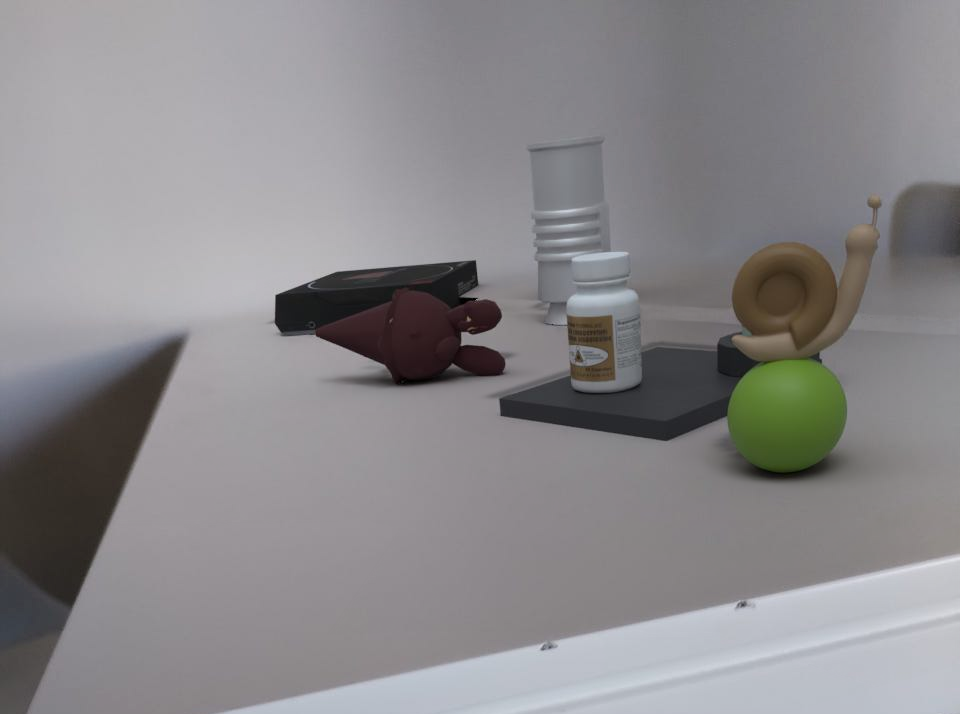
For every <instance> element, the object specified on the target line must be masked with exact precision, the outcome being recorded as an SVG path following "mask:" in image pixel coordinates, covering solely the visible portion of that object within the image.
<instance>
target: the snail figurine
mask: <svg viewBox="0 0 960 714" xmlns="http://www.w3.org/2000/svg"><path fill="white" fill-rule="evenodd" d="M866 202H867V206H868V207H869V208H871V209H872V220H871V224H870V223H867V222H866V223H860V224H857V225H855V226H853V227H852V228H851V229H850V230H849V231H848V233H847V235H846V237H845V240H844V246H845V251H846V260H845V263H844V267H843V270H842V273H841V274H842V275H841V277H840V280H839V283H838V282H837V280H836V279H837V278H836V276H835V272H834V270H833V268H832V266H831V264H830V262H829V261H828V260H827V259H826V258H825V256H824V255H823V254H822V253H820V252H819V251H818V250H816V249H815V248H813V247H811V246H809V245H806V244H805V243H800V242H795V241H782V242H777V243H774V244H773V243H772V244H770V245H768V246H765V247H762V248H761V249H760V250H758V251H757V252H755V253H753V254H752V255H751V256H750V257H749V258H748V259H747V260H746V261H745V262H744V263H743V265H742V266H741V267H740V269H739V271H738V272H737V275H736V277H735V280H734V282H733V286H732V290H731V291H732V292H731V304H732V309H733V312H734V315H735V318H736V319H737V320H738V322H739V323H740V324H741V326H742V325H743V326H744V327H745V328H746V329H747V330H748V331H749V332H750V333H751V334H752V335H751V336H748V335H736V336H733V337H732V342H733V344H734V345H735V346H736V347H737V348H738V349H739V350H740V351H741V352H743V353H744V354H745V355H746V356H748V357H749V358H751V359H753V360H756V361H760V362H761V363H759V364H758V365H756V366H755V367H753V368H752V369H751V370H750V371H748V372H747V373H746V374H745V375H744V376H743V377H742V379H741V380H740V381H739V383H738V384H737V386H736V387H735V389H734V391H733V393H732V396H731V398H730V402H729V406H728V413H727V416H726V417H727V418H726V419H727V428H728V433H729V436H730V438H731V441H732V443H733V445H734V446H735V448H736V449H737V451H738V452H739V454H740V455H741V456H742V457H743V458H745V460H746V461H748V462H750V463H751V464H752V465H754V466H755V467H757V468H760V469H762V470H765V471H769V472H774V473H780V474H781V473H783V474H784V473H785V474H786V473H794V472H799V471H802V470H805V469H808V468H810V467H812V466H814V465H816V464H817V463H819V462H821V461H822V460H824V458H826V457H827V456H828V455H829V454H830V453H831V452H832V451H833V450H834V449H835V447H836V445H837V444H838V443H839V442H840V439H841V438H842V435H843V433H844V431H845V427H846V424H847V418H848V403H847V397H846V393H845V391H844V388H843V386H842V383H841V382H840V381H839V379H838V378H837V376H836V375H835V374H834V373H833V371H831V370H830V368H828V367H827V366H826V365H825V364H823V363H822V364H821V363H820V362H818V361H816V360H813V359H811V358H809V357H811V356H813V355H815V354H817V353H818V352H820V353H821V352H822V351H824V350H826V349H828V348H830V347H832V345H834V344H836V343H837V342H838V341H839V340H840V339H841V338H842V337H843V336H844V335H845V333H846V332H847V331H848V329H849V328H850V326H851V324H852V323H853V321H854V319H855V316H856V315H857V313H858V310H859V308H860V305H861V302H862V299H863V296H864V292H865V289H866V286H867V283H868V279H869V276H870V273H871V272H870V271H871V266H872V262H873V258H874V256H875V253H876V251H877V250H878V248H879V244H878V241H879V239H880V237H881V234H880V231H879V230H878V228H877V222H878V211H879V209H880V208H881V207H882V205H883V198H882V196H880V195H878V194H876V193H873V194H870V195H869V196H868V198H867V201H866ZM837 283H838V284H837Z"/></svg>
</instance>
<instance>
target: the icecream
mask: <svg viewBox="0 0 960 714" xmlns="http://www.w3.org/2000/svg"><path fill="white" fill-rule="evenodd" d="M392 298H393V301H390V302H387V303H384V304H382V305H379V306H376V307H374V308H371V309H368V310H366V311H363V312H360V313H357V314H355V315H352V316H349V317H347V318H344V319H341V320H338V321H336V322H333V323H330V324H328V325H325V326H322V327H320V328H318V329H316V330H315V334H314V335H315V337H317V338H319V339H321V340H324V341H326V342H328V343H330V344H333V345H336V346H338V347H341V348H344V349H346V350H348V351H350V352H353V353H355V354H358V355H360V356H362V357H364V358H366V359H370V360H372V361H374V362H376V363H377V364H378V363H379V364H381V365H383V366H385V367H386V369H387V370H388V371H389V372H390V376H391V379H392V381H393V382H394V383H395V384H396V385H400V384H402V383H403V382H405V381H407V380H410V381H413V382H417V381H418V382H419V381H430V380H432V379H435V378H437V377H439V376H441V375H442V374H443V373H445V372H446V371H447V370H448V369H449V368H450V367H451V366H452V365H454V366H456V367H457V368H459V369H461V370H463V371H465V372H468V373H470V374H473V375H476V376H479V377H487V376H489V377H490V376H493V377H494V376H499V375H500V374H502V373H503V371H504V370H505V369H506V358H505V357H503V355H502V354H501V353H500V352H499V351H498V350H495V349H492V348H490V347H488V346H485V345H473V344H463V345H462V333H468V334H470V335H472V336H474V335H478V334H479V335H480V334H483V333H486V332H488V331H492V330H493V329H494V328H496V327H497V326H498V324H499V323H500V321H501V320H502V319H503V314H502V311H501V308H500V307H499V306H498V304H497V302H495V301H494V300H490V299H488V298H484V299H480V300H479V299H478V300H476V301H468V302H467V303H465V304H464V305H460V306H458V307H456V308H454V309H451V308H450V307H449V306H448V305H447V304H445V303H444V302H442V301H441V300H439V299H438V298H436V297H434V296H432V295H430V294H429V293H425V292H419V291H413V290H412V291H410V290H409V289H408V288H406V287H405V288H403V289H401V290H400V289H396V291H395V292H394V293H393V295H392ZM404 380H405V381H404ZM402 381H403V382H402ZM401 382H402V383H401ZM399 383H400V384H399Z"/></svg>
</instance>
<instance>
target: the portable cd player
mask: <svg viewBox="0 0 960 714" xmlns="http://www.w3.org/2000/svg"><path fill="white" fill-rule="evenodd" d="M478 286H479V277H478V267H477V259H473V260H461V261H449V262H438V263H437V262H436V263H424V264H414V265H411V264H410V265H401V266H388V267H375V268H363V269H353V270H341V271H340V270H339V271H335V272H332V273H329V274H327V275H325V276H322V277H319V278H317V279H314V280H311V281H309V282H306V283H304V284H301V285H298V286H295V287H292V288H290V289H288V290H284V291H282V292H280V293H277V294H274V295H275V297H274V324H275V326H276V328H277V330H278V331H279V332H280V334H281V335H282V337H286V336H289V337H290V336H304V334H305V335H315V330H316V329H318V328H320V327H322V326H325V325H328V324H330V323H333V322H336V321H338V320H341V319H344V318H347V317H349V316H352V315H355V314H357V313H360V312H363V311H366V310H368V309H371V308H374V307H376V306H379V305H382V304H384V303H387V302H390V301H393V298H392V295H393V293H394V292H395V291H396V289H400V290H401V289H403V288H405V287H406V288H408V289H409V290H410V291H412V290H413V291H419V292H425V293H429V294H430V295H432V296H434V297H436V298H438V299H439V300H441V301H442V302H444V303H445V304H447V305H448V306H449V307H450V308H451V309H454V308H456V307H458V306H460V305H464V304H465V303H467V302H468V301H475V300H476V299H478V298H479V297H465V296H463V295H466V294H467V293H468V292H470V291H472V290H474V289H475V288H477V287H478ZM478 300H479V299H478ZM476 301H477V300H476Z"/></svg>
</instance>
